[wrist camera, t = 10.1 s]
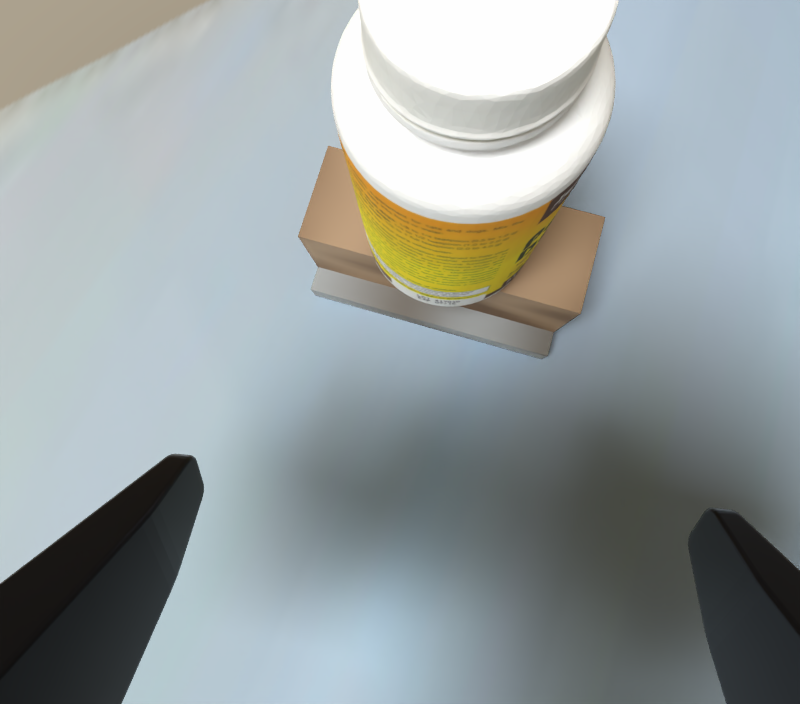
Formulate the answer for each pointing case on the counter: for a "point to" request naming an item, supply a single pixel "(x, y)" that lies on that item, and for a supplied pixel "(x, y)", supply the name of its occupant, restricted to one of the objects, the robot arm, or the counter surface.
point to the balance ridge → (482, 321)
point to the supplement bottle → (468, 131)
